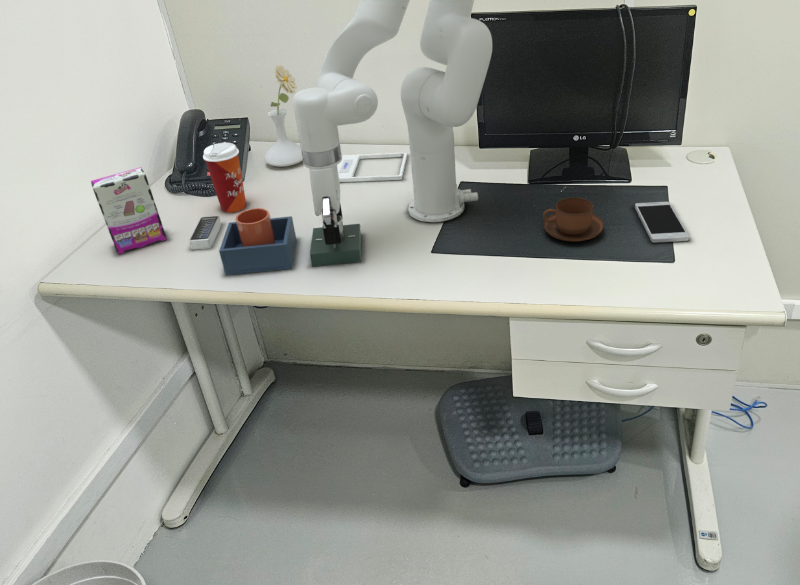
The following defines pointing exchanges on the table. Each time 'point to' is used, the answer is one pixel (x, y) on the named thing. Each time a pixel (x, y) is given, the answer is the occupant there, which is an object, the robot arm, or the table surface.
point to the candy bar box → (129, 210)
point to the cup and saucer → (573, 220)
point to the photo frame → (348, 169)
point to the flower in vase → (283, 126)
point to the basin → (259, 250)
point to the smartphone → (661, 222)
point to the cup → (255, 227)
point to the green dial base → (336, 247)
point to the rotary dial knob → (340, 226)
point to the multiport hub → (205, 233)
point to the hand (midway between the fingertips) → (334, 231)
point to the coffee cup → (226, 175)
